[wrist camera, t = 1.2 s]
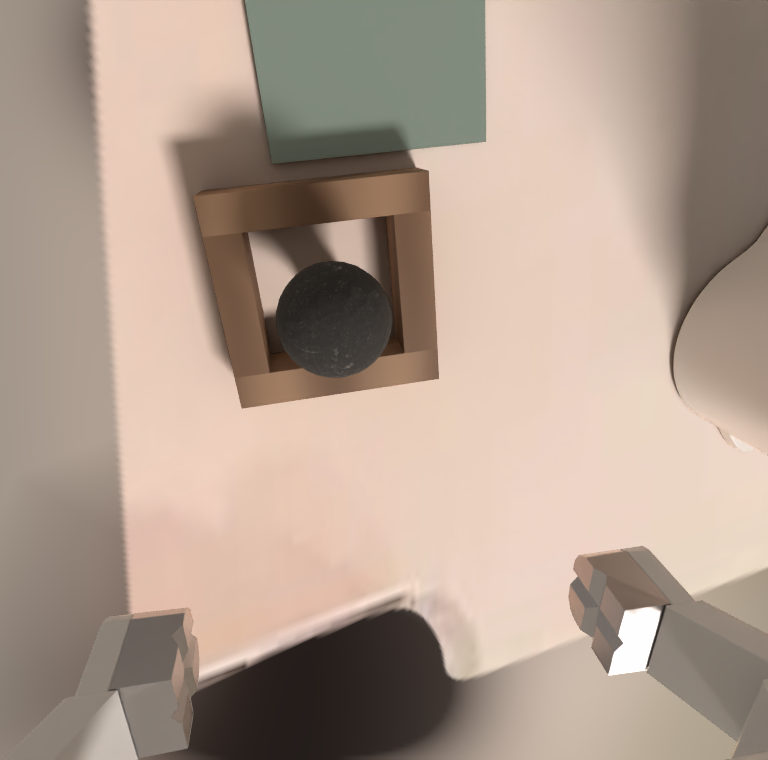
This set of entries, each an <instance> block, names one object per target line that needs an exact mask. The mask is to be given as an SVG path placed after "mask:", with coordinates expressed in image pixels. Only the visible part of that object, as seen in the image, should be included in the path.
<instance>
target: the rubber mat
mask: <svg viewBox="0 0 768 760" xmlns="http://www.w3.org/2000/svg"><path fill="white" fill-rule="evenodd" d="M245 5H246V11H247V17H248V23H249V29H250V35H251V41H252V47H253V53H254V59H255V65H256V71H257V77H258V83H259V89H260V95H261V101H262V107H263V113H264V119H265V125H266V131H267V137H268V143H269V149H270V155H271V161H272V164H276V163H286V162H295V161H305V160H314V159H324V158H334V157H343V156H353V155H362V154H372V153H382V152H391V151H401V150H410V149H420V148H430V147H439V146H449V145H459V144H468V143H478V142H486V70H485V0H245Z"/></svg>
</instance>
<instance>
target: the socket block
mask: <svg viewBox="0 0 768 760" xmlns="http://www.w3.org/2000/svg"><path fill="white" fill-rule="evenodd" d="M193 199H194V203H195V208H196V212H197V216H198V221H199V225H200V229H201V234H202V238H203V242H204V247H205V251H206V255H207V260H208V264H209V268H210V273H211V277H212V281H213V286H214V290H215V294H216V299H217V303H218V307H219V312H220V316H221V320H222V325H223V329H224V333H225V338H226V342H227V346H228V351H229V355H230V360H231V364H232V368H233V373H234V377H235V381H236V386H237V390H238V394H239V399H240V403H241V407H242V408H248V407H255V406H262V405H268V404H275V403H281V402H288V401H295V400H301V399H308V398H315V397H321V396H328V395H334V394H341V393H348V392H354V391H361V390H367V389H374V388H381V387H387V386H394V385H400V384H407V383H414V382H420V381H427V380H434V379H439V371H438V351H437V331H436V311H435V291H434V271H433V251H432V231H431V211H430V191H429V171H427V170H423V169H419V168H409V169H400V170H390V171H381V172H372V173H362V174H353V175H344V176H335V177H325V178H316V179H307V180H298V181H288V182H279V183H270V184H260V185H251V186H242V187H233V188H223V189H214V190H205V191H201V192H199V193H198V194H196V195H195V196H193ZM381 216H386V227H387V239H388V251H389V262H390V274H391V286H392V298H393V310H394V321H395V333H396V336H395V337H389V341H388V343H387V345H386V347H385V349H384V350H383V352H382V354H381V355H380V356H379V357H378V359H377V360H376V361H375V362H374V363H373V364H371V365H370V366H369V367H368V368H367V369H365V370H363V371H361V372H359V373H357V374H354V375H351V376H347V377H342V378H328V377H323V376H318V375H315V374H313V373H311V372H308V371H306V370H305V369H303V368H302V367H300V366H299V365H298V364H296V363H295V362H294V361H293V360H292V359H291V358H290V357H289V355H288V354H287V352H282V353H275V354H271V350H270V345H269V340H268V335H267V329H266V324H265V319H264V314H263V309H262V304H261V299H260V293H259V288H258V283H257V278H256V273H255V268H254V262H253V257H252V252H251V247H250V242H249V237H248V232H252V231H261V230H269V229H278V228H287V227H295V226H304V225H312V224H321V223H329V222H338V221H346V220H355V219H364V218H372V217H381Z"/></svg>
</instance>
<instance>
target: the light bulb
mask: <svg viewBox="0 0 768 760" xmlns="http://www.w3.org/2000/svg"><path fill="white" fill-rule="evenodd" d="M276 326H277V331H278V335H279V338H280V342H281V344H282V346H283V348H284V349H285V351H286V352H287V354H288V355H289V357H290V358H291V359H292V360H293V361H294V362H295V363H296V364H298V365H299V366H300V367H302V368H303V369H305V370H306V371H308V372H311V373H313V374H315V375H318V376H323V377H328V378H342V377H347V376H351V375H354V374H357V373H359V372H361V371H363V370H365V369H367V368H368V367H369V366H370V365H371V364H373V363H374V362H375V361H376V360H377V359H378V357H379V356H380V355H381V354H382V352H383V350H384V349H385V347H386V345H387V343H388V341H389V337H390V334H391V328H392V312H391V307H390V304H389V301H388V298H387V296H386V293H385V292H384V290H383V288H382V287H381V285H380V284H379V283H378V281H377V280H376V279H375V278H373V277H372V276H371V275H370V274H369V273H367V272H366V271H364V270H362V269H361V268H359V267H357V266H355V265H352V264H348V263H345V262H336V261H327V262H321V263H318V264H314V265H312V266H310V267H307V268H305V269H304V270H302V271H301V272H300V273H298V274H297V275H296V276H295V277H294V278H293V279H292V280H291V281H290V282H289V283H288V285H287V286H286V287H285V289H284V291H283V293H282V295H281V296H280V299H279V302H278V306H277V311H276Z"/></svg>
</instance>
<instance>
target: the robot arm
mask: <svg viewBox="0 0 768 760" xmlns="http://www.w3.org/2000/svg"><path fill="white" fill-rule="evenodd" d="M673 367H674V378H675V383H676V387H677V390H678V392H679V394H680V396H681V398H682V400H683V401H684V403H685V404H686V405H687V407H688V408H689V409H690V410H691V411H692V412H694V413H695V414H696V415H698V416H699V417H701V418H703V419H705V420H707V421H709V422H711V423H713V424H714V425H716V426H717V427H718V428H719V430H720V432H721V434H722V436H723V438H724V439H725V441H726V442H727V443H728V444H729V445H730V446H732V447H734V448H735V449H737V450H739V451H741V452H750V451H753V450H758V451H760V452H762V453H763V454H765V455H767V456H768V226H767V227H766V229H765V230H764V231H763V233H762V234H761V236H760V237H759V239H758V240H757V241H756V242H755V243H754V244H753V245H752V246H751V247H750V248H749V249H748V250H746V251H745V252H744V253H743V254H741V255H740V256H739V257H737V258H736V259H735V260H733V261H732V262H731V263H729V264H728V265H727V266H726V267H725V268H723V269H722V270H721V271H720V272H719V273H718V274H717V275H716V276H715V277H714V278H713V279H712V280H711V281H710V282H709V284H708V285H707V286H706V287H705V288H704V289H703V291H702V292H701V293H700V295H699V296H698V298H697V299H696V300H695V302H694V303H693V305H692V307H691V308H690V310H689V312H688V314H687V316H686V318H685V320H684V322H683V324H682V327H681V330H680V332H679V335H678V338H677V342H676V347H675V352H674V364H673ZM573 570H574V571H575V573H576V574H577V576H578V577H577V578H576V579H575V580H574V581H573V582H572V583H571V584H570V590H569V603H570V609H571V612H572V614H573V617H574V620H575V621H576V623H577V625H578V626H579V628H580V630H582V631H583V632H585V633H586V634H588V635H589V636H591V637H593V639H592V649H593V651H594V653H595V654H596V656H597V658H598V659H599V661H600V662H601V664H602V666H603V667H604V669H605V670H606V672H607V673H608V675H615V674H623V673H630V672H635V671H636V672H637V671H643V670H647V673H648V674H650V675H651V676H652V677H654V678H655V679H656V680H657V681H659V682H660V683H661V684H663V685H664V686H665V687H666V688H668V689H669V690H670V691H672V692H673V693H674V694H676V695H677V696H678V697H679V698H681V699H682V700H683V701H685V702H686V703H687V704H689V705H690V706H691V707H693V708H694V709H695V710H696V711H698V712H699V713H700V714H702V715H703V716H704V717H706V718H707V719H708V720H710V721H711V722H712V723H713V724H715V725H716V726H717V727H719V728H720V729H721V730H723V731H724V732H725V733H726V734H728V735H729V736H730V737H732V738H733V739H734V740H736V741H737V743H736V745H735V748H734V750H733V752H732V755H731V757H730V759H727V760H768V634H767V633H765V632H763V631H761V630H759V629H757V628H755V627H753V626H751V625H749V624H747V623H745V622H743V621H741V620H739V619H737V618H735V617H734V616H732V615H730V614H728V613H726V612H724V611H722V610H720V609H718V608H716V607H714V606H712V605H710V604H708V603H706V602H704V601H695V600H694V599H693V598H692V597H691V596H690V595H689V593H688V592H687V591H686V590H685V589H684V588H683V587H682V586H681V585H680V584H679V582H678V581H677V580H676V579H675V578H674V577H673V576H672V575H671V574H670V572H669V571H668V570H667V569H666V568H665V567H664V566H663V565H662V564H661V562H660V561H659V560H658V559H657V558H656V557H655V556H654V555H653V554H652V553H651V551H650V550H649V549H647V548H645V547H643V546H640V547H633V548H626V549H621V550H612V551H605V552H598V553H591V554H584V555H579V556H578V557H577V558H576V560H575V563H574V568H573ZM192 626H193V618H192V614H191V610H190V609H189V608H181V609H172V610H162V611H153V612H144V613H135V614H130V615H122V616H112V617H107V618H106V619H105V620H104V622H103V623H102V624H101V626H100V629H99V632H98V635H97V637H96V640H95V643H94V646H93V648H92V651H91V654H90V656H89V659H88V662H87V664H86V667H85V670H84V672H83V675H82V678H81V681H80V683H79V686H78V689H77V691H76V694H75V696H74V697H69V698H66V699H64V700H63V701H62V702H61V703H60V704H59V705H58V706H57V707H56V708H55V709H54V710H53V711H52V712H51V713H50V714H49V715H48V716H47V717H46V718H45V719H44V720H43V721H42V722H41V723H40V724H38V725H37V726H36V727H35V728H34V729H33V730H32V731H31V732H30V733H29V734H28V735H27V736H26V737H25V738H24V739H23V740H22V741H21V742H20V743H19V744H18V745H17V746H16V747H15V748H14V749H13V750H12V751H11V752H10V753H9V754H8V755H7V756H6V757H5V758H4V759H3V760H138V758H142V757H147V756H152V755H157V754H162V753H167V752H171V751H177V750H181V749H186V748H188V743H189V737H190V731H191V724H192V718H193V709H192V705H191V699H190V697H191V696H192V695H193V694H194V693H195V691H196V690H197V684H198V677H199V649H198V643H197V638H196V637H195V636H193V635H192V634H191V632H192Z"/></svg>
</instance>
